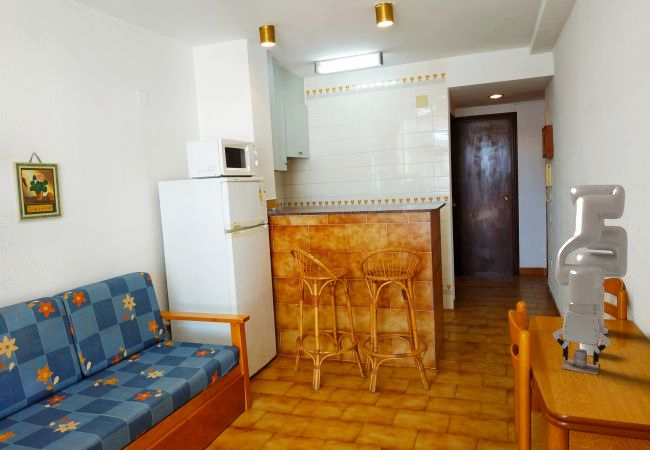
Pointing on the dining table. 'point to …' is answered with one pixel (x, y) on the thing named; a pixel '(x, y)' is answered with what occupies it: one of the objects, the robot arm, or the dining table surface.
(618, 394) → the dining table surface
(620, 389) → the dining table surface
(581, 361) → the lid
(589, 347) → the white cup
